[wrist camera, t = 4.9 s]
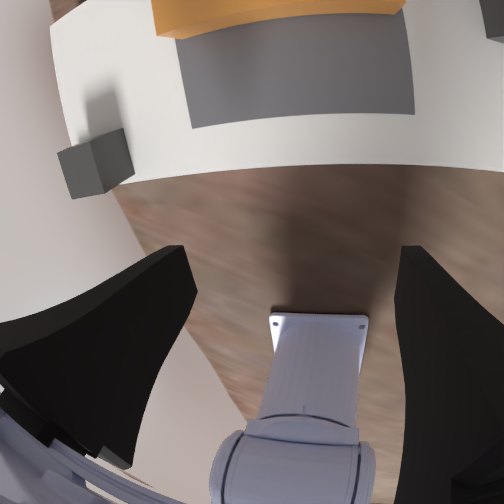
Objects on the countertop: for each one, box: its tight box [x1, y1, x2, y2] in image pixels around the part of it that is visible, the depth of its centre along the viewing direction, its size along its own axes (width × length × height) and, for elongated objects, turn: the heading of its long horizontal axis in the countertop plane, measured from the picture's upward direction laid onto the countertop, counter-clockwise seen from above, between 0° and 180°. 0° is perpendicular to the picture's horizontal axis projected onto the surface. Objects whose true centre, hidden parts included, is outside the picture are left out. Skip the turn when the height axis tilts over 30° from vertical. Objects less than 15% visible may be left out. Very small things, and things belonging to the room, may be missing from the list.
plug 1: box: [57, 128, 135, 199], centre depth 15 cm, size 4×3×3 cm
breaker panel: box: [50, 0, 504, 185], centre depth 12 cm, size 13×30×3 cm, turn 99°
